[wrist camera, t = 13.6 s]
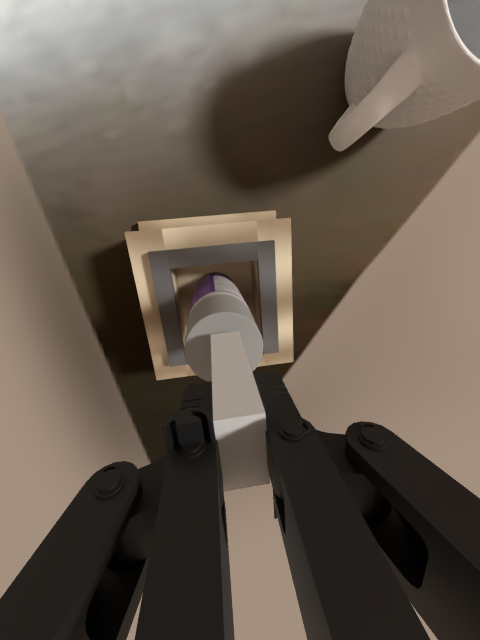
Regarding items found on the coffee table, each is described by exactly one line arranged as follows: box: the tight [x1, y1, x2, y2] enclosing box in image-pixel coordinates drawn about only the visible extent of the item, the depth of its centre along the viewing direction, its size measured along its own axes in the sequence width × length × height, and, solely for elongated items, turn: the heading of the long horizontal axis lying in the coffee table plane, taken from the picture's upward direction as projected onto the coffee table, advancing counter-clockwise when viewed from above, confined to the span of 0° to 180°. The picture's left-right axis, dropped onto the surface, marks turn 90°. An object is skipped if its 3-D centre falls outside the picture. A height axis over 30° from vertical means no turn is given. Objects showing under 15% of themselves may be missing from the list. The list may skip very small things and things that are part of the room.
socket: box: [124, 210, 293, 380], centre depth 26 cm, size 16×14×7 cm
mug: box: [328, 0, 480, 151], centre depth 19 cm, size 15×11×13 cm
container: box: [185, 272, 263, 382], centre depth 21 cm, size 5×5×15 cm
